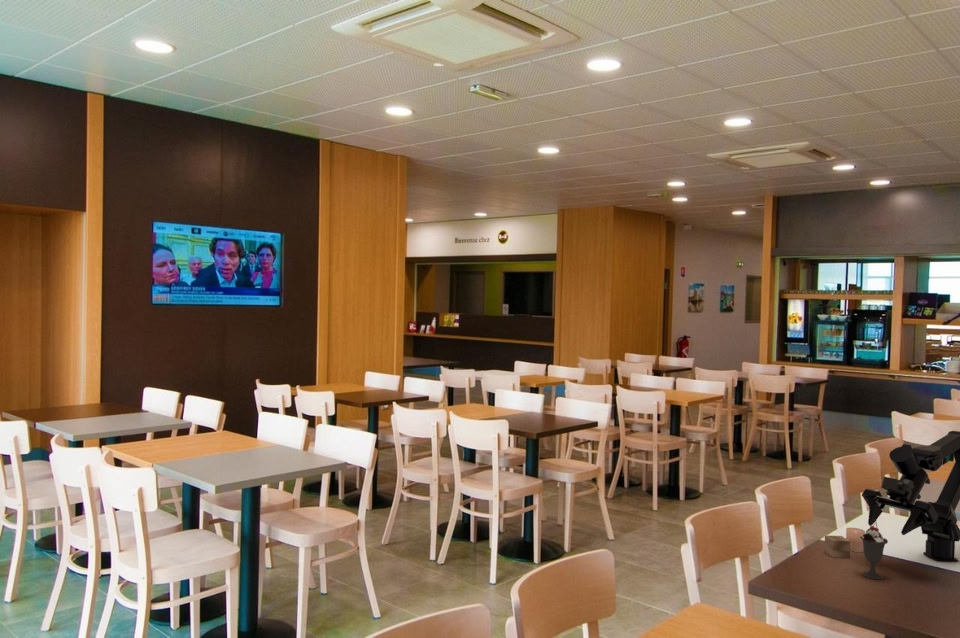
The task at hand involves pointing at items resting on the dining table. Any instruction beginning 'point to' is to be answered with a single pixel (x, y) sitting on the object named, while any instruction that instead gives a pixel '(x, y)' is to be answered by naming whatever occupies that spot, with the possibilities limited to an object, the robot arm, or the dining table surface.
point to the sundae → (873, 550)
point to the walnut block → (837, 546)
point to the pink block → (855, 539)
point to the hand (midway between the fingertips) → (885, 529)
